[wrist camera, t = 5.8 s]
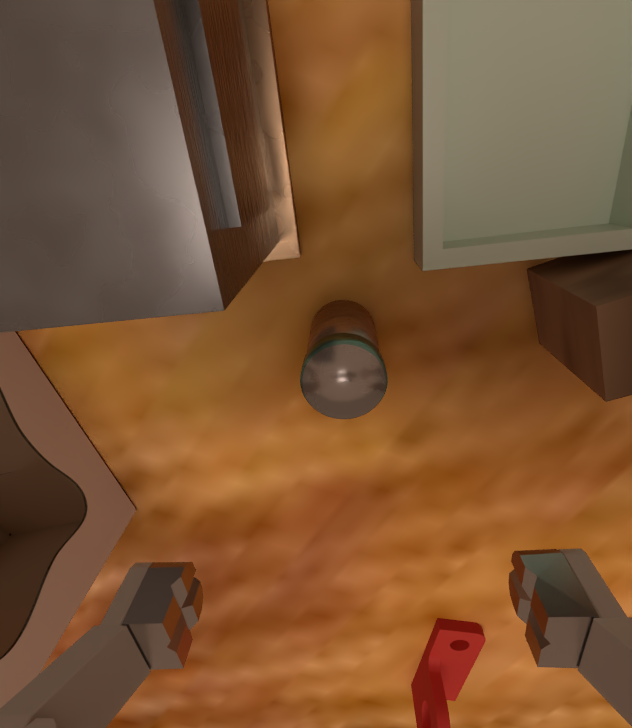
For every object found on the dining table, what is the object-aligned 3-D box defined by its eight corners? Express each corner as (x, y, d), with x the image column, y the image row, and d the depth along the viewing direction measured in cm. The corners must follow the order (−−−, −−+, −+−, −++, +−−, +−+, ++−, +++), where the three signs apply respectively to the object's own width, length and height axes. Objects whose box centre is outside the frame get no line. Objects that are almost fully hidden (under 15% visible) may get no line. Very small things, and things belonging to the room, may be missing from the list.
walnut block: (620, 236, 22) (731, 263, 16) (625, 316, 24) (726, 369, 18) (526, 268, 23) (596, 306, 17) (539, 343, 25) (605, 401, 19)
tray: (721, -282, 14) (803, -378, 12) (615, 238, 22) (650, 247, 20) (408, -213, 15) (422, -286, 13) (413, 259, 23) (422, 270, 21)
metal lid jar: (374, 295, 24) (386, 340, 18) (377, 357, 26) (389, 417, 20) (305, 302, 25) (294, 348, 18) (313, 362, 26) (305, 423, 20)
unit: (248, -140, 16) (38, -852, 5) (300, 254, 23) (263, 339, 12) (-17, -83, 18) (-682, -549, 6) (108, 275, 25) (-93, 371, 13)
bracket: (452, 688, 43) (474, 790, 36) (410, 683, 43) (425, 784, 36) (484, 622, 38) (517, 727, 31) (437, 617, 38) (459, 720, 31)
